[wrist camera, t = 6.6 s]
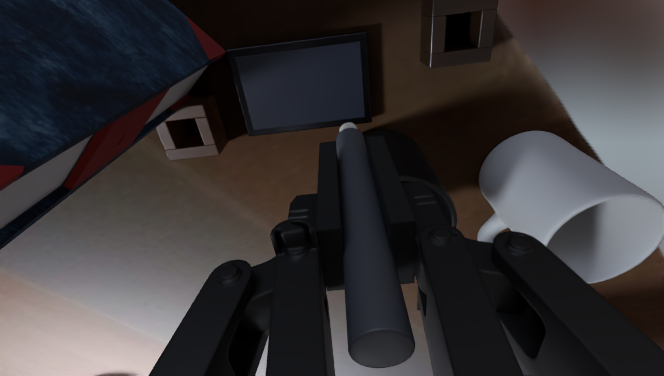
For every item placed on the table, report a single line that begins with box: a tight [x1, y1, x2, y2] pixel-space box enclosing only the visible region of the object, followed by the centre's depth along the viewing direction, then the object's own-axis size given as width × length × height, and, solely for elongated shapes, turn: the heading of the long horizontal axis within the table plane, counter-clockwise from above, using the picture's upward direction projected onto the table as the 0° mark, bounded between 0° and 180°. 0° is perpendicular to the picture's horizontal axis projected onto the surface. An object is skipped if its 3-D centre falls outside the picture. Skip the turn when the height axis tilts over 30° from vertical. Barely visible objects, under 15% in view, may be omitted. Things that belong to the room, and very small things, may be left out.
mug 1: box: [363, 130, 457, 228], centre depth 28 cm, size 9×12×9 cm
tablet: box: [226, 31, 372, 136], centre depth 27 cm, size 7×11×1 cm, turn 97°
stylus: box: [336, 122, 415, 368], centre depth 13 cm, size 2×2×14 cm
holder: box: [420, 0, 498, 68], centre depth 24 cm, size 4×4×3 cm
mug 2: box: [478, 131, 664, 284], centre depth 28 cm, size 12×8×11 cm
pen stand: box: [156, 95, 228, 160], centre depth 27 cm, size 4×4×3 cm
